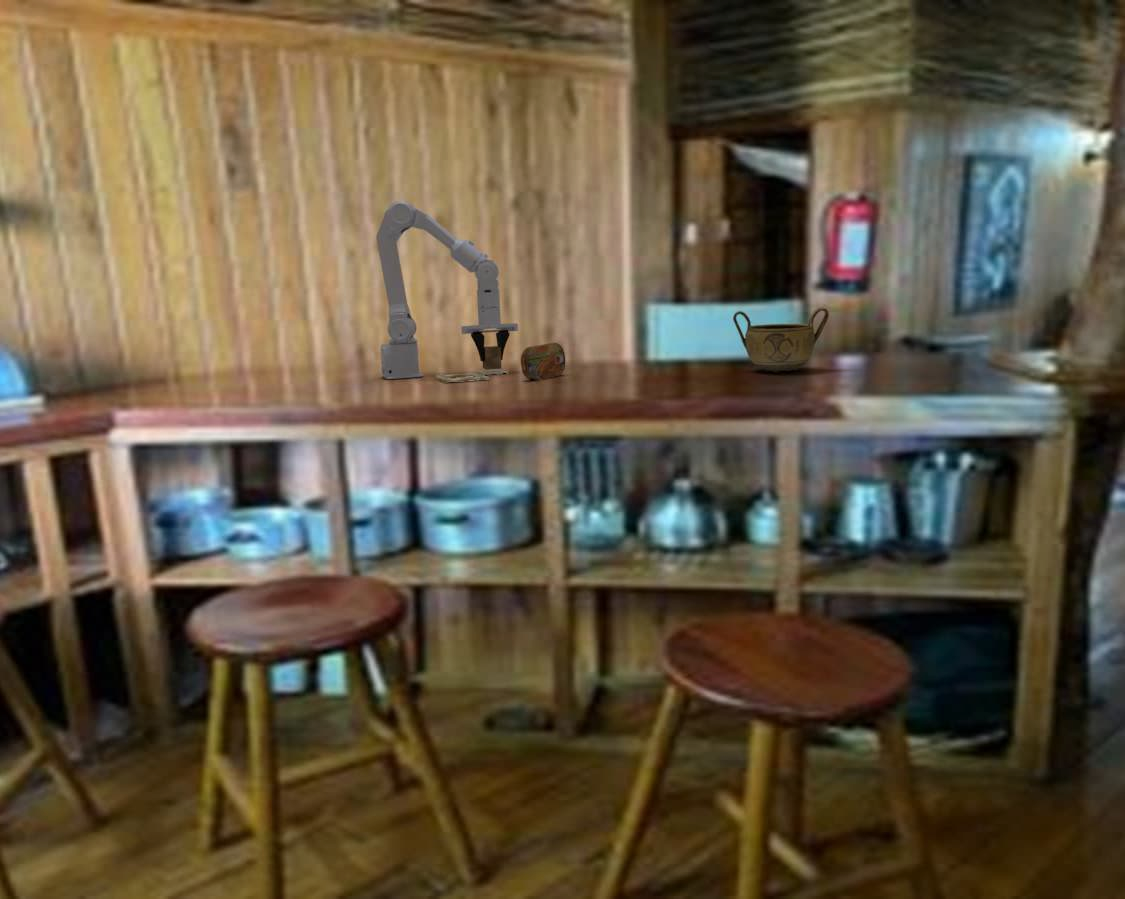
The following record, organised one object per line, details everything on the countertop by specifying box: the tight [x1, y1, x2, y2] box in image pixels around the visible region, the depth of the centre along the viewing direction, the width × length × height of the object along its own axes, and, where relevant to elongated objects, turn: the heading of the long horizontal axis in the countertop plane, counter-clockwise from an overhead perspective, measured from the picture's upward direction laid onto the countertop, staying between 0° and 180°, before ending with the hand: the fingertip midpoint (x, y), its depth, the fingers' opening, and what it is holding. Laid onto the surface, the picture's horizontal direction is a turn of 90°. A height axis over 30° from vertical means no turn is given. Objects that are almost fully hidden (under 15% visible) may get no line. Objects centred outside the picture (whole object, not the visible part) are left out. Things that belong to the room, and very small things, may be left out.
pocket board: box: [434, 372, 490, 384], centre depth 245 cm, size 11×12×1 cm
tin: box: [520, 342, 566, 381], centre depth 241 cm, size 15×3×8 cm, turn 143°
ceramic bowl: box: [732, 306, 830, 373], centre depth 236 cm, size 22×17×15 cm
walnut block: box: [482, 345, 502, 370], centre depth 255 cm, size 4×4×6 cm
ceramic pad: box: [475, 368, 510, 376], centre depth 256 cm, size 7×7×1 cm
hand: (491, 360), depth 255 cm, fingers closed on walnut block, 4 cm apart
